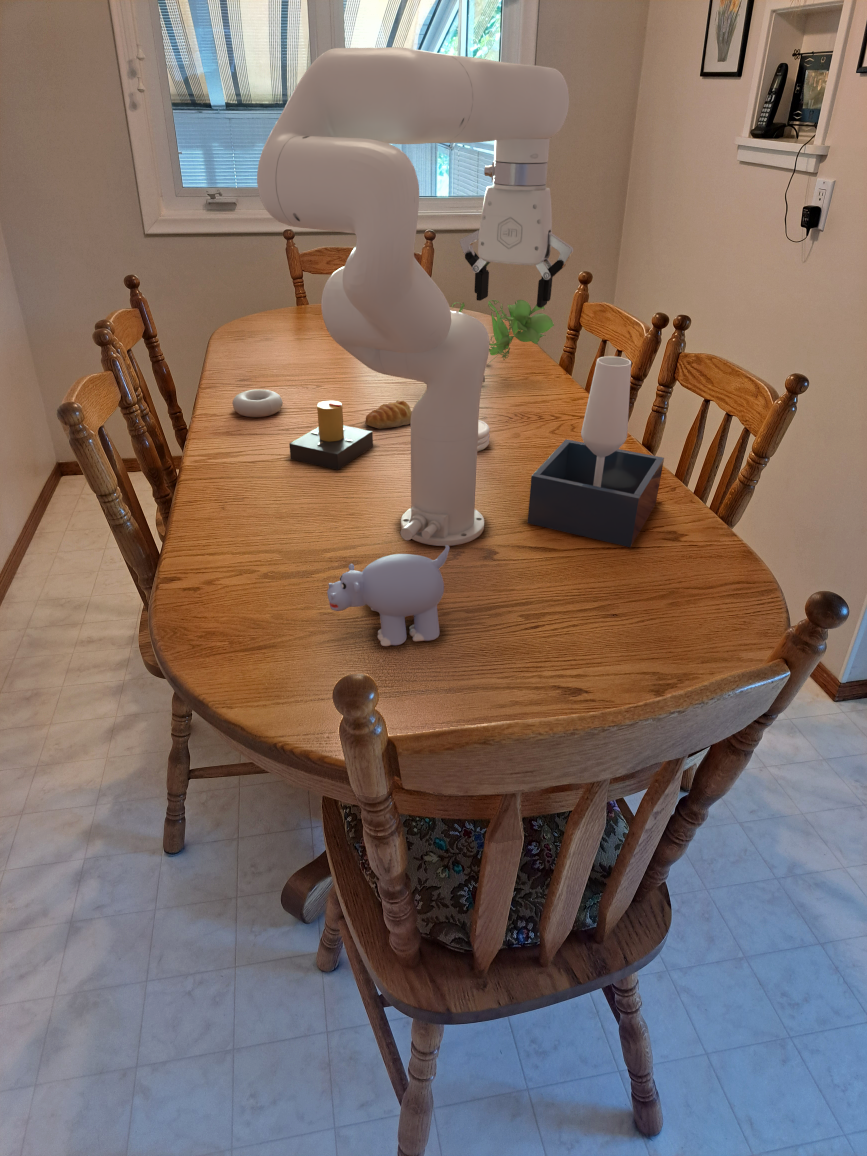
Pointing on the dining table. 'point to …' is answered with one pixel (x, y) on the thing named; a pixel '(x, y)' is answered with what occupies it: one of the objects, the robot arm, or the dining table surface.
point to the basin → (595, 493)
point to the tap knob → (330, 420)
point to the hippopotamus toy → (395, 594)
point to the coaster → (483, 435)
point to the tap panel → (331, 448)
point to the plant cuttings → (516, 326)
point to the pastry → (390, 415)
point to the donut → (257, 403)
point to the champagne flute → (607, 410)
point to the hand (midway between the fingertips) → (511, 302)
